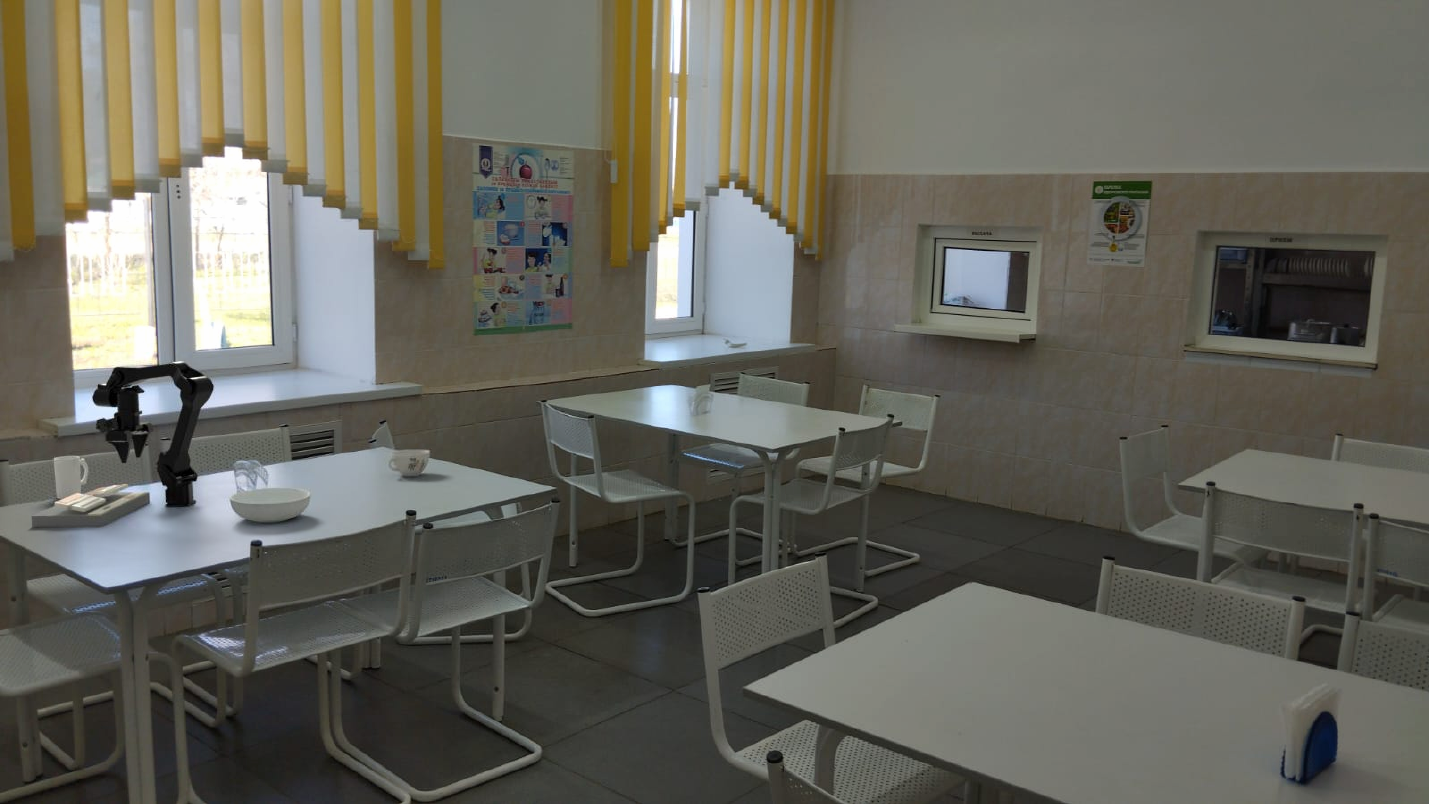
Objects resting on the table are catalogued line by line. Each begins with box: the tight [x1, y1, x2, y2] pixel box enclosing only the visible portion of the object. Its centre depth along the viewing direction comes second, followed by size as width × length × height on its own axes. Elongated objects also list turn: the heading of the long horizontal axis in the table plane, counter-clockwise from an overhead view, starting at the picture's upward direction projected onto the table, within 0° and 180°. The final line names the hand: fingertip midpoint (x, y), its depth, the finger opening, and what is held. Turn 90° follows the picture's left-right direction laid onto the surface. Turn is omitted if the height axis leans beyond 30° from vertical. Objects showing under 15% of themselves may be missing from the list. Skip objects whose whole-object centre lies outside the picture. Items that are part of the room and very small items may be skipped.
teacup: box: [388, 449, 431, 478], centre depth 375 cm, size 15×12×8 cm
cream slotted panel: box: [83, 483, 129, 497], centre depth 322 cm, size 8×12×1 cm, turn 4°
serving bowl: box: [229, 487, 311, 524], centre depth 312 cm, size 21×21×7 cm
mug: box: [53, 455, 89, 500], centre depth 338 cm, size 10×7×12 cm, turn 156°
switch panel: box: [31, 491, 151, 528], centre depth 316 cm, size 18×30×4 cm, turn 4°
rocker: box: [53, 493, 106, 512], centre depth 308 cm, size 8×12×1 cm, turn 4°
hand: (131, 460), depth 332 cm, fingers open, 9 cm apart
